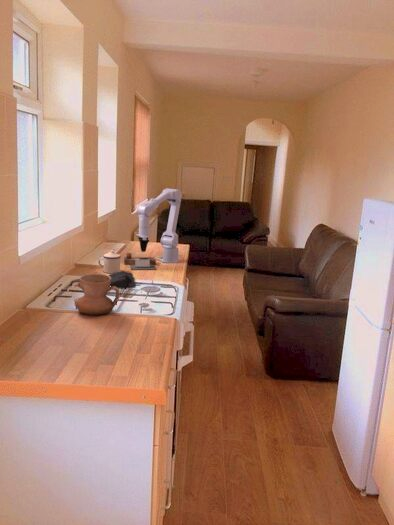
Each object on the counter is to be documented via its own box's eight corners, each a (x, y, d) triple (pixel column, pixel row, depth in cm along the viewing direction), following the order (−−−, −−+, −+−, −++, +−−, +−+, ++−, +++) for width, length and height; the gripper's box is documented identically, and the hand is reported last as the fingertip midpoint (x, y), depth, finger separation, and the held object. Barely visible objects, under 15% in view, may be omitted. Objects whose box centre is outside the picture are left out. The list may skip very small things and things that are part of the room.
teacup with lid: (122, 270, 247) (122, 249, 244) (118, 274, 238) (118, 252, 235) (100, 268, 248) (100, 248, 245) (95, 272, 239) (96, 251, 236)
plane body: (154, 262, 271) (154, 252, 270) (155, 265, 264) (156, 255, 262) (123, 261, 268) (124, 251, 266) (124, 264, 260) (124, 254, 259)
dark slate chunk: (136, 277, 236) (137, 268, 235) (134, 289, 215) (134, 279, 213) (107, 276, 235) (107, 267, 234) (101, 288, 213) (101, 278, 212)
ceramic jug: (67, 316, 172) (68, 280, 169) (79, 304, 187) (80, 271, 183) (114, 320, 172) (115, 284, 169) (122, 308, 186) (123, 275, 183)
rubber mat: (154, 266, 261) (154, 265, 260) (156, 270, 252) (156, 269, 252) (130, 266, 258) (130, 265, 258) (131, 269, 249) (131, 268, 249)
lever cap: (148, 265, 259) (148, 257, 258) (149, 266, 254) (149, 258, 254) (134, 265, 258) (134, 257, 257) (135, 266, 253) (135, 258, 252)
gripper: (136, 224, 258) (135, 248, 261) (137, 228, 244) (136, 253, 247) (148, 225, 259) (147, 248, 262) (150, 229, 245) (149, 253, 248)
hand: (143, 250), depth 255 cm, fingers open, 4 cm apart
